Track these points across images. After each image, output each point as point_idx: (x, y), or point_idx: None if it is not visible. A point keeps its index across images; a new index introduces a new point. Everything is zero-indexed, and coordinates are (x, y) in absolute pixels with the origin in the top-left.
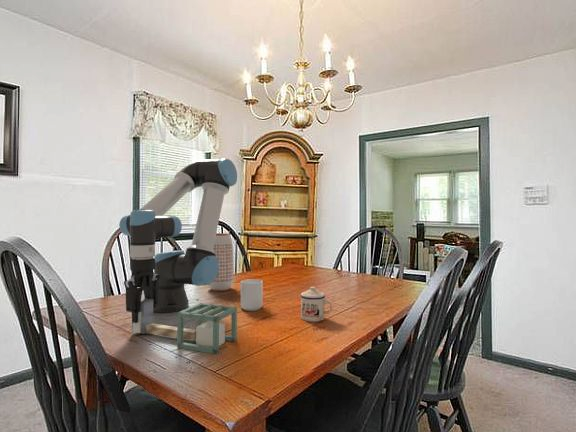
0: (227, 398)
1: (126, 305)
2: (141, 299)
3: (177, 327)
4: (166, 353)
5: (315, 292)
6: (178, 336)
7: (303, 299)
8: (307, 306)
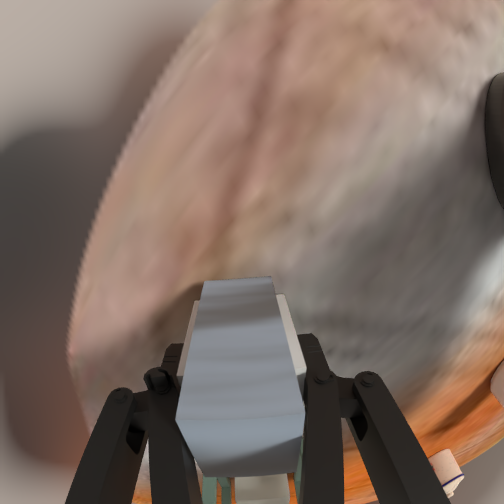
0: (139, 497)
1: (99, 423)
2: (253, 444)
3: (202, 488)
4: None
5: None
6: None
7: None
8: None
